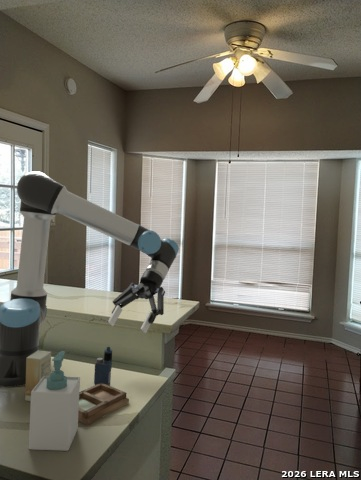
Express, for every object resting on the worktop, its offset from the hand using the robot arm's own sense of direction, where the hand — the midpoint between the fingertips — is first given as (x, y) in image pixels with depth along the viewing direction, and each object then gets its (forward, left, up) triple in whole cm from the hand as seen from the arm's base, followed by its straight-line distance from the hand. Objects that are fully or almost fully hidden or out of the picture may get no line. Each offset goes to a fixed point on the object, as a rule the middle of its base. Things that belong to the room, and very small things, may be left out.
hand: (126, 327), depth 122 cm
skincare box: (-8, -27, -16) cm, 32 cm away
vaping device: (0, -10, -16) cm, 19 cm away
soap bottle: (+12, -36, -16) cm, 42 cm away
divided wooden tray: (+8, -20, -16) cm, 27 cm away
